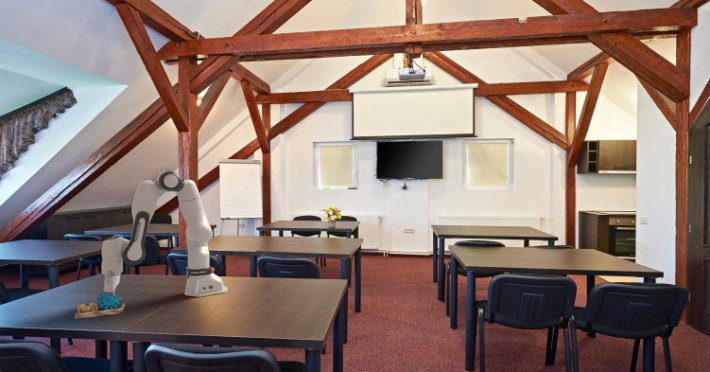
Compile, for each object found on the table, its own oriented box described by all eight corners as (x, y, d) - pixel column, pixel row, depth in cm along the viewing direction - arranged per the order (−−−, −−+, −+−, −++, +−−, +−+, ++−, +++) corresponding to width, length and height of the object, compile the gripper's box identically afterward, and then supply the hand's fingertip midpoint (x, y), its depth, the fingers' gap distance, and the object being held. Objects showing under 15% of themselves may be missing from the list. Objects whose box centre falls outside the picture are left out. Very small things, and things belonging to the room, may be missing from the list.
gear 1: (98, 308, 178) (98, 299, 178) (95, 312, 171) (95, 303, 171) (79, 310, 175) (79, 301, 175) (75, 315, 168) (75, 305, 168)
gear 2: (101, 309, 172) (95, 292, 177) (94, 317, 174) (89, 300, 178) (125, 306, 182) (119, 290, 186) (119, 314, 184) (113, 297, 188)
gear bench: (124, 305, 184) (124, 301, 184) (121, 313, 173) (121, 308, 173) (80, 310, 176) (80, 306, 176) (74, 318, 165) (74, 314, 165)
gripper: (116, 272, 177) (116, 302, 177) (122, 265, 195) (122, 291, 195) (100, 274, 174) (100, 303, 174) (108, 266, 193) (108, 292, 193)
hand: (112, 297), depth 185 cm, fingers closed
